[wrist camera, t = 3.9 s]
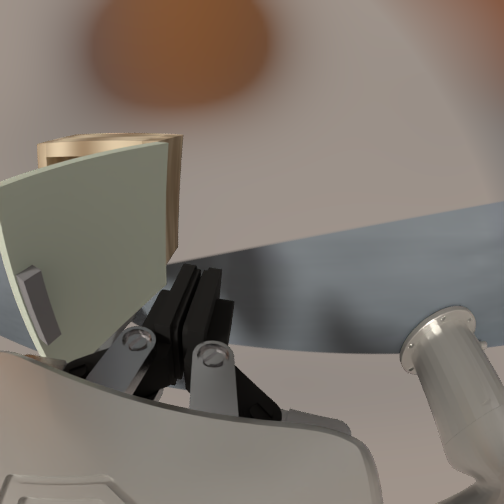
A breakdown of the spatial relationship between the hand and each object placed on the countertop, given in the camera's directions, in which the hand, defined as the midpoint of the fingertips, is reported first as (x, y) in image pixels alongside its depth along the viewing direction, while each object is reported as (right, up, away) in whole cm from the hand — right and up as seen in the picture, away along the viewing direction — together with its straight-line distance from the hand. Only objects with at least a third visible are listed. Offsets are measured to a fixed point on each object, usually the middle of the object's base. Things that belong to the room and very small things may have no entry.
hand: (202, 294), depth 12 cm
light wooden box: (-10, +8, +13) cm, 18 cm away
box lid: (-7, +2, +2) cm, 7 cm away
